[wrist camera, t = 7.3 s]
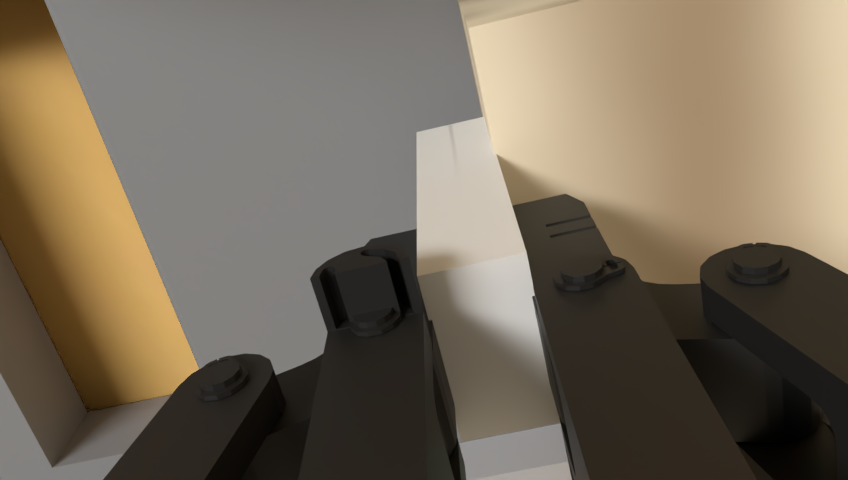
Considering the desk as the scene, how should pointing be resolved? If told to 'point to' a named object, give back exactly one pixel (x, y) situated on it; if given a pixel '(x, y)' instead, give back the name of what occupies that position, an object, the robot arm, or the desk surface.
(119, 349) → the desk surface
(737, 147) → the block
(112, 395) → the desk surface
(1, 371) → the lane deck
